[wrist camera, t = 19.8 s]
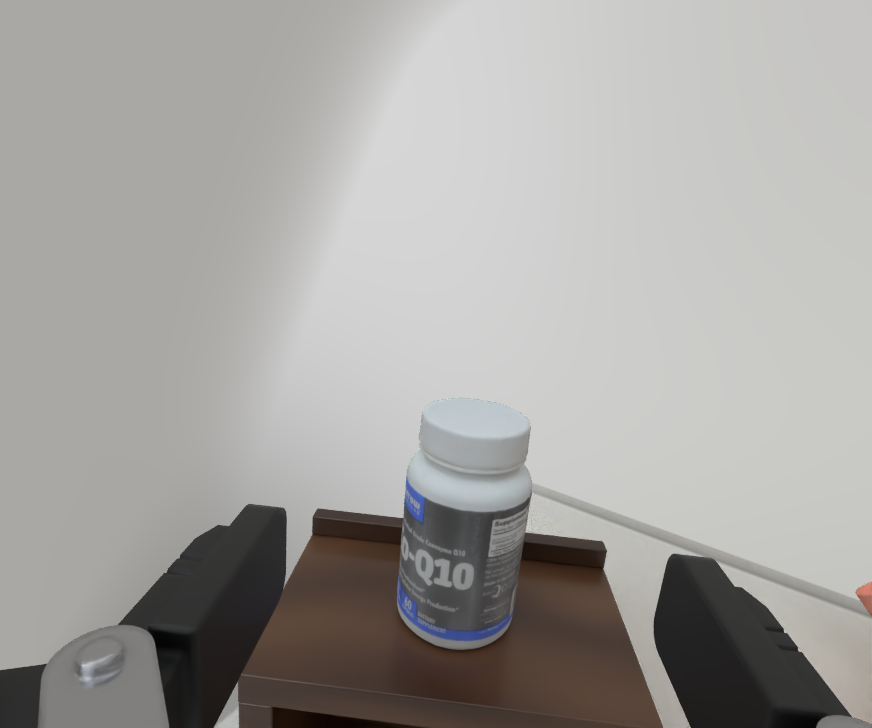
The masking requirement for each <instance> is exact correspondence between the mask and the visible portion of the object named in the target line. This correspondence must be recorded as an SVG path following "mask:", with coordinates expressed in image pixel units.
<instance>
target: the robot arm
mask: <svg viewBox="0 0 872 728" xmlns="http://www.w3.org/2000/svg"><path fill="white" fill-rule="evenodd" d="M286 522H287V518H286V511H285V509H284V508H279V507H271V506H263V505H254V504H248V505H247V506H246V507H245V508H244V509H243V510H242V511H241V512H240V514H239V515H238V516H237V517H236V519H235V520H234V521H233V522H232V523H231V525H230V526H221V525H217V526H216V527H214V528H212V529H211V530H209V531H207V532H205V533H204V534H202V535H200V536H199V537H197V538H195V539H194V541H193V542H192V543H191V544H190V545H189V546H188V547H187V548H186V549H185V551H184V552H183V553H182V554H181V555H180V558H179V559H177V560H176V561H175V562H174V563H173V564H172V565H171V566H170V567H169V568H168V571H167V573H164V574H163V575H162V576H161V577H160V578H159V580H158V581H157V582H156V583H155V584H154V585H153V586H152V587H151V588H150V590H149V591H148V592H147V593H146V594H145V595H144V596H143V597H142V599H141V600H140V601H139V602H138V603H137V604H136V605H135V606H134V607H133V609H132V610H131V611H130V612H129V613H128V614H127V615H126V616H125V617H124V619H123V620H122V621H121V622H120V623H119V624H118V625H115V626H109V627H104V628H100V629H97V630H94V631H91V632H89V633H86V634H84V635H82V636H80V637H78V638H76V639H74V640H73V641H71V642H70V643H68V644H67V645H65V646H64V647H63V648H61V650H59V651H58V652H57V653H56V654H55V655H54V656H53V657H52V658H51V660H50V661H49V662H48V664H43V665H37V666H29V667H21V668H14V669H7V670H0V728H214V726H215V724H216V722H217V720H218V718H219V716H220V714H221V712H222V710H223V709H224V707H225V705H226V703H227V701H228V699H229V697H230V695H231V693H232V691H233V689H234V687H235V685H236V684H237V682H238V680H239V678H240V676H241V674H242V672H243V670H244V668H245V666H246V664H247V662H248V660H249V659H250V657H251V655H252V653H253V651H254V649H255V647H256V645H257V643H258V641H259V639H260V637H261V635H262V634H263V632H264V630H265V628H266V626H267V624H268V622H269V620H270V618H271V616H272V614H273V612H274V610H275V609H276V607H277V605H278V603H279V600H280V597H281V594H282V591H283V587H284V582H285V575H286V524H287V523H286ZM654 638H655V644H656V648H657V651H658V654H659V656H660V658H661V660H662V663H663V665H664V667H665V670H666V672H667V674H668V676H669V679H670V681H671V683H672V686H673V688H674V690H675V692H676V695H677V697H678V699H679V702H680V704H681V706H682V708H683V711H684V713H685V715H686V718H687V720H688V722H689V725H690V727H691V728H872V724H869V723H867V722H864V721H862V720H859V719H856V718H852V716H851V715H850V714H849V713H848V711H847V710H846V709H845V707H844V706H843V705H842V703H841V702H840V701H839V700H838V698H837V697H836V696H835V694H834V693H833V692H832V691H831V689H830V688H829V687H828V685H827V684H826V683H825V682H824V680H823V679H822V678H821V676H820V675H819V674H818V673H817V671H816V670H815V669H814V667H813V666H812V665H811V664H810V662H809V661H808V660H807V658H806V657H805V656H804V655H803V653H802V652H798V647H797V646H796V644H795V643H794V642H793V640H792V639H791V638H790V637H789V635H788V634H787V633H784V629H783V628H782V626H781V625H780V624H779V622H778V621H777V620H776V619H775V617H774V616H773V615H772V613H771V612H770V611H769V610H768V608H767V607H766V606H765V605H763V604H762V603H761V602H759V601H758V600H757V599H756V598H754V597H753V596H752V595H751V594H749V593H748V592H747V591H745V590H744V589H743V588H741V587H734V585H733V584H732V583H731V581H730V580H729V578H728V577H727V576H726V574H725V573H724V572H723V570H722V569H721V567H720V566H719V565H718V563H717V562H716V561H715V560H714V559H712V558H706V557H697V556H689V555H680V554H672V555H671V556H670V557H669V559H668V561H667V565H666V569H665V573H664V578H663V582H662V586H661V591H660V595H659V599H658V604H657V608H656V612H655V617H654Z"/></svg>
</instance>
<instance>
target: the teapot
mask: <svg viewBox="0 0 872 728" xmlns="http://www.w3.org/2000/svg"><path fill="white" fill-rule="evenodd" d="M856 595H857V596H858V597H859V599H860V600H861V602H862V603H863V605H864V606H865V608H866V609H867V611H868V612H869V613H870V615H871V616H872V582H870V583H867V584H865V585H863V586H861V587H860V588H858V589H857V590H856Z"/></svg>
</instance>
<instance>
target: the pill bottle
mask: <svg viewBox="0 0 872 728" xmlns="http://www.w3.org/2000/svg"><path fill="white" fill-rule="evenodd" d="M530 429H531V427H530V422H529V420H528V419H527V417H525V416H524V415H523V414H522V413H520V412H518V411H516V410H514V409H512V408H510V407H507V406H504V405H501V404H497V403H494V402H490V401H484V400H479V399H469V398H451V399H443V400H437V401H434V402H432V403H430V404H428V405H427V406H426V407H425V408H424V410H423V412H422V419H421V427H420V433H419V441H420V442H419V447H420V451H418V452H417V453H416V454H415V455H414V456H413V458H412V459H411V461H410V463H409V466H408V470H407V477H406V492H405V502H404V519H403V528H402V539H401V552H400V567H399V576H398V587H397V606H398V611H399V613H400V616H401V618H402V619H403V621H404V622H405V623H406V625H407V626H408V627H409V628H410V629H411V630H412V631H413V632H414V633H416V634H417V635H418V636H420V637H421V638H422V639H424V640H426V641H428V642H430V643H432V644H434V645H436V646H439V647H443V648H448V649H454V650H467V649H475V648H480V647H483V646H485V645H488V644H490V643H492V642H494V641H495V640H496V639H498V638H499V637H500V636H502V635H503V633H504V632H505V631H506V630H507V629H508V627H509V625H510V622H511V619H512V614H513V609H514V602H515V597H516V590H517V582H518V576H519V569H520V562H521V556H522V549H523V543H524V536H525V531H526V524H527V518H528V512H529V506H530V499H531V495H532V480H531V476H530V473H529V471H528V469H527V468H526V466H525V465H524V462H525V461H526V456H527V453H528V445H529V437H530Z"/></svg>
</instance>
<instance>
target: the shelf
mask: <svg viewBox="0 0 872 728" xmlns="http://www.w3.org/2000/svg"><path fill="white" fill-rule="evenodd" d="M403 519H404V518H396V517H386V516H378V515H369V514H361V513H352V512H343V511H335V510H326V509H317V510H316V512H315V514H314V516H313V527H312V529H313V530H312V533H313V534H312V536H311V538H310V540H309V542H308V544H307V546H306V548H305V550H304V551H303V553H302V555H301V557H300V559H299V561H298V563H297V565H296V566H295V568H294V570H293V572H292V574H291V576H290V578H289V580H288V581H287V583H286V585H285V587H284V589H283V591H282V594H281V597H280V600H279V603H278V605H277V607H276V609H275V610H274V612H273V614H272V616H271V618H270V620H269V622H268V624H267V626H266V628H265V630H264V632H263V634H262V635H261V637H260V639H259V641H258V643H257V645H256V647H255V649H254V651H253V653H252V655H251V657H250V659H249V660H248V662H247V664H246V666H245V668H244V670H243V672H242V674H241V676H240V678H239V680H238V701H239V728H663V726H662V723H661V720H660V718H659V715H658V713H657V710H656V707H655V705H654V702H653V699H652V697H651V694H650V691H649V689H648V686H647V683H646V681H645V678H644V675H643V673H642V670H641V667H640V665H639V662H638V660H637V657H636V654H635V652H634V649H633V646H632V644H631V641H630V638H629V636H628V633H627V630H626V628H625V625H624V622H623V620H622V617H621V615H620V612H619V609H618V607H617V604H616V601H615V599H614V596H613V593H612V591H611V588H610V585H609V583H608V580H607V577H606V575H605V572H604V570H603V568H604V563H605V558H606V553H607V550H606V548H605V545H604V543H603V542H602V541H594V540H585V539H577V538H568V537H559V536H551V535H542V534H534V533H525V536H524V543H523V549H522V556H521V562H520V569H519V576H518V582H517V590H516V597H515V602H514V609H513V614H512V619H511V622H510V625H509V627H508V629H507V630H506V631H505V632H504V633H503V635H502V636H500V637H499V638H498V639H496V640H495V641H494V642H492V643H490V644H488V645H485V646H483V647H480V648H475V649H467V650H454V649H448V648H443V647H439V646H436V645H434V644H432V643H430V642H428V641H426V640H424V639H422V638H421V637H420V636H418V635H417V634H416V633H414V632H413V631H412V630H411V629H410V628H409V627H408V626H407V625H406V623H405V622H404V621H403V619H402V618H401V616H400V613H399V611H398V606H397V587H398V576H399V567H400V552H401V539H402V528H403Z"/></svg>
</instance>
